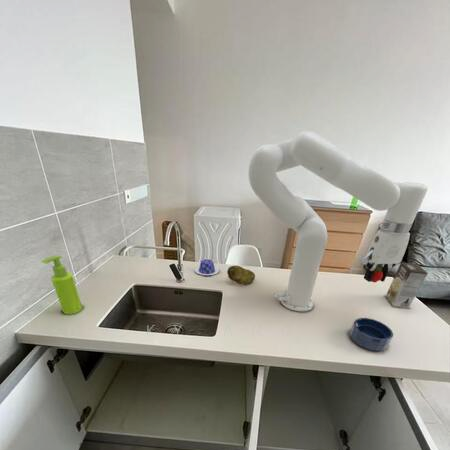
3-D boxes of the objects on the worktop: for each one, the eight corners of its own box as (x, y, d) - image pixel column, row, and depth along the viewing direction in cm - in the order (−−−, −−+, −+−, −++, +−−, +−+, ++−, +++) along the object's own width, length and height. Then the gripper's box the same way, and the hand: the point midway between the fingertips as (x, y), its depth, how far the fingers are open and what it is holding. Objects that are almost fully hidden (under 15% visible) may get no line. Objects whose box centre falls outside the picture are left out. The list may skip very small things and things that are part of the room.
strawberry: (371, 283, 82) (376, 271, 80) (363, 278, 86) (368, 265, 84) (383, 283, 83) (388, 270, 80) (374, 277, 87) (379, 265, 84)
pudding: (189, 272, 117) (189, 262, 114) (202, 264, 126) (202, 254, 123) (211, 278, 112) (211, 268, 110) (223, 269, 121) (223, 259, 119)
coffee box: (384, 295, 107) (400, 261, 98) (400, 297, 106) (417, 263, 97) (392, 306, 99) (410, 270, 91) (409, 309, 98) (429, 273, 90)
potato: (255, 287, 107) (257, 271, 103) (226, 286, 107) (227, 269, 103) (254, 279, 114) (256, 263, 110) (226, 277, 114) (227, 261, 110)
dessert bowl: (361, 352, 75) (367, 340, 72) (342, 329, 84) (347, 318, 81) (394, 351, 76) (401, 339, 73) (372, 329, 85) (378, 317, 83)
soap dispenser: (56, 313, 84) (35, 258, 73) (73, 303, 89) (56, 251, 79) (69, 317, 82) (49, 262, 72) (85, 307, 88) (70, 255, 77)
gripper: (379, 230, 70) (357, 285, 80) (429, 230, 73) (402, 284, 82) (363, 223, 77) (345, 275, 86) (410, 224, 79) (387, 274, 89)
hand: (373, 279), depth 84 cm, fingers closed on strawberry, 4 cm apart
